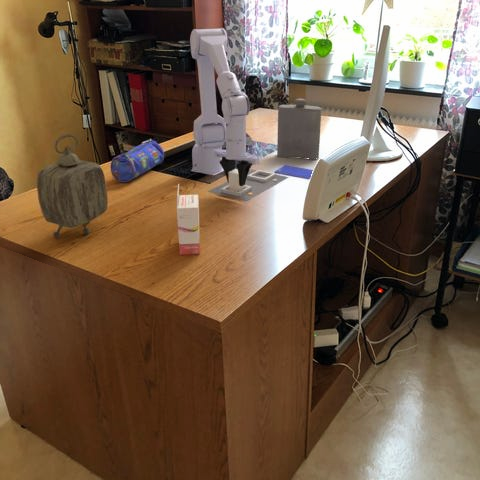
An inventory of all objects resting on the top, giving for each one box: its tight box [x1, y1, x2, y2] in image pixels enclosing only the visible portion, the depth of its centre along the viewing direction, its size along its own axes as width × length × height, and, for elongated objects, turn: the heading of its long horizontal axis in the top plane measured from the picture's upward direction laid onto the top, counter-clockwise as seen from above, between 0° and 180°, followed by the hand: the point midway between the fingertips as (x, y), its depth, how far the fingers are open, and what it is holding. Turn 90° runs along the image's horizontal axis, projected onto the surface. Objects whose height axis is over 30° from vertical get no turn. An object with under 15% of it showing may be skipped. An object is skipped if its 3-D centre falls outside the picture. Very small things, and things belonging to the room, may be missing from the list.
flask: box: [276, 98, 322, 160], centre depth 187 cm, size 15×6×20 cm, turn 73°
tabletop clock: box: [36, 133, 108, 239], centre depth 130 cm, size 14×9×25 cm, turn 150°
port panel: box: [207, 169, 289, 202], centre depth 165 cm, size 14×24×2 cm, turn 146°
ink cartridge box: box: [176, 183, 201, 256], centre depth 125 cm, size 9×5×15 cm, turn 5°
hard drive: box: [273, 164, 314, 180], centre depth 174 cm, size 2×8×12 cm
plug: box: [229, 168, 246, 192], centre depth 158 cm, size 4×4×6 cm
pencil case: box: [110, 138, 165, 183], centre depth 174 cm, size 22×9×10 cm, turn 159°
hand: (236, 183), depth 159 cm, fingers closed on plug, 4 cm apart
